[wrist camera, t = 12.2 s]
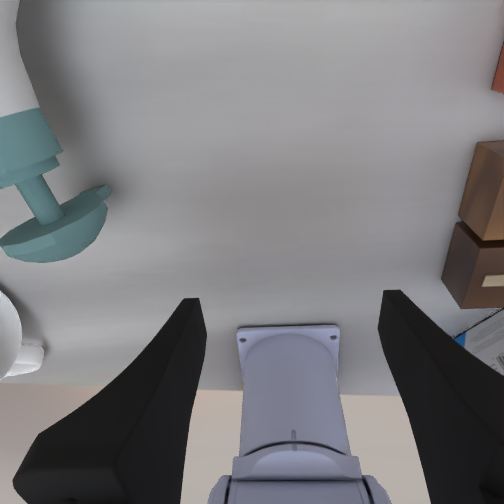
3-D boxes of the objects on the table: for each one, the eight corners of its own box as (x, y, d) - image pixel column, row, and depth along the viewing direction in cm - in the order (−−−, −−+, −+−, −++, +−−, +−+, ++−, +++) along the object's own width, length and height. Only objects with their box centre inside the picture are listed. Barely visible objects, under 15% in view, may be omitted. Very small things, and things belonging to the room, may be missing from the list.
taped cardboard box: (508, 276, 24) (538, 307, 21) (440, 279, 24) (461, 310, 22) (532, 218, 22) (568, 245, 19) (455, 222, 22) (480, 249, 19)
